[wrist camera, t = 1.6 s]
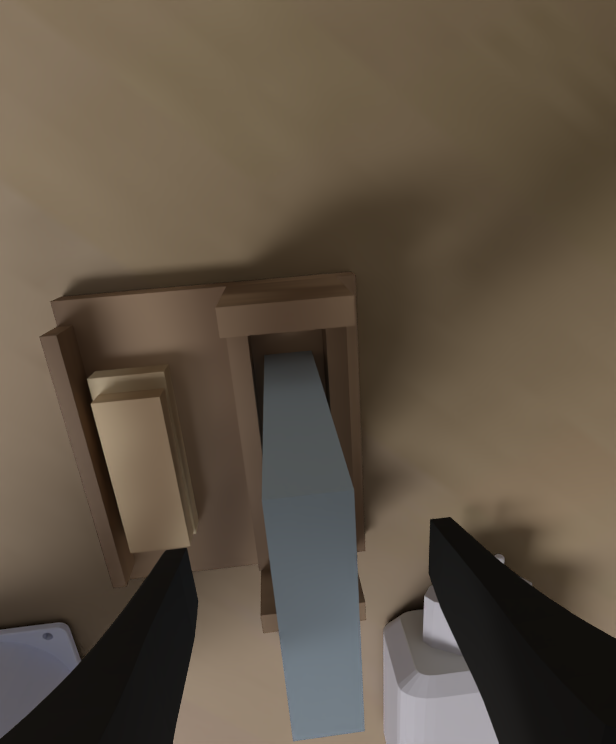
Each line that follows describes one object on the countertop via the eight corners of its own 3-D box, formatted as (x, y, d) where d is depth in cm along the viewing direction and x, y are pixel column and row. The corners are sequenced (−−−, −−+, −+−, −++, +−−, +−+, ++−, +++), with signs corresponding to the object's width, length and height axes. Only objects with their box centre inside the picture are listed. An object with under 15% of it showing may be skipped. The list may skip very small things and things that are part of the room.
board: (282, 511, 22) (293, 741, 12) (264, 354, 19) (261, 500, 10) (323, 506, 22) (364, 731, 13) (311, 350, 19) (354, 489, 10)
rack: (132, 564, 23) (99, 654, 19) (61, 296, 18) (-9, 327, 14) (361, 537, 24) (384, 617, 19) (351, 271, 19) (378, 293, 14)
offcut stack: (135, 528, 21) (124, 555, 20) (94, 371, 19) (78, 387, 17) (198, 520, 22) (192, 547, 20) (168, 364, 19) (159, 379, 17)
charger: (543, 515, 25) (516, 699, 30) (379, 534, 24) (380, 718, 30) (603, 583, 20) (559, 785, 26) (404, 607, 20) (400, 808, 25)
